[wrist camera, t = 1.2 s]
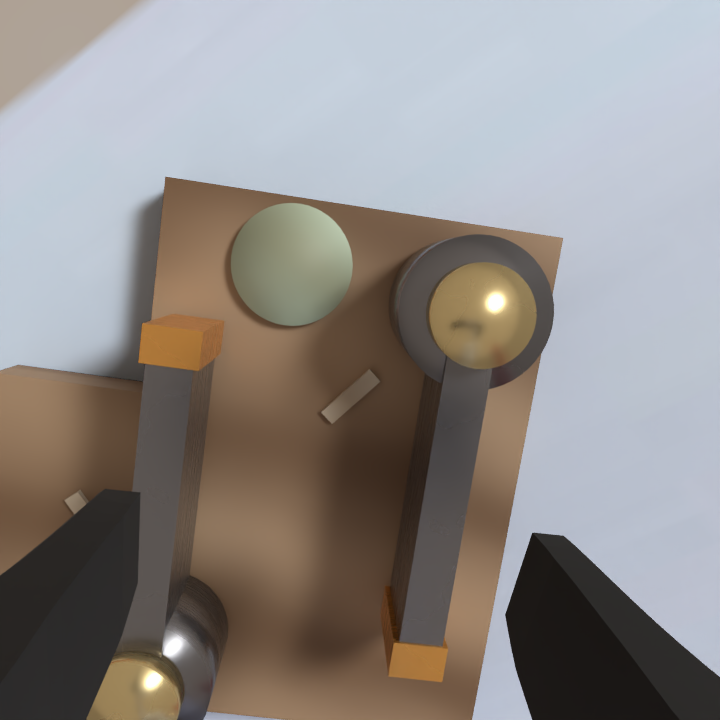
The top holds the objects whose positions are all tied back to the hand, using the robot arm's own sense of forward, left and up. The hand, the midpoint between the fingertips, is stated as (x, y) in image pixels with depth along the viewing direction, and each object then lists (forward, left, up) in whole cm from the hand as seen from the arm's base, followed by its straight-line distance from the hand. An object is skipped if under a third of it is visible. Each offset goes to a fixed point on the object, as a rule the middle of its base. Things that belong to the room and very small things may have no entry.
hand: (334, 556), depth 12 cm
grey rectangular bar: (-3, +5, -8) cm, 10 cm away
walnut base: (-1, +2, -10) cm, 10 cm away
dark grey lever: (0, -3, -8) cm, 9 cm away
